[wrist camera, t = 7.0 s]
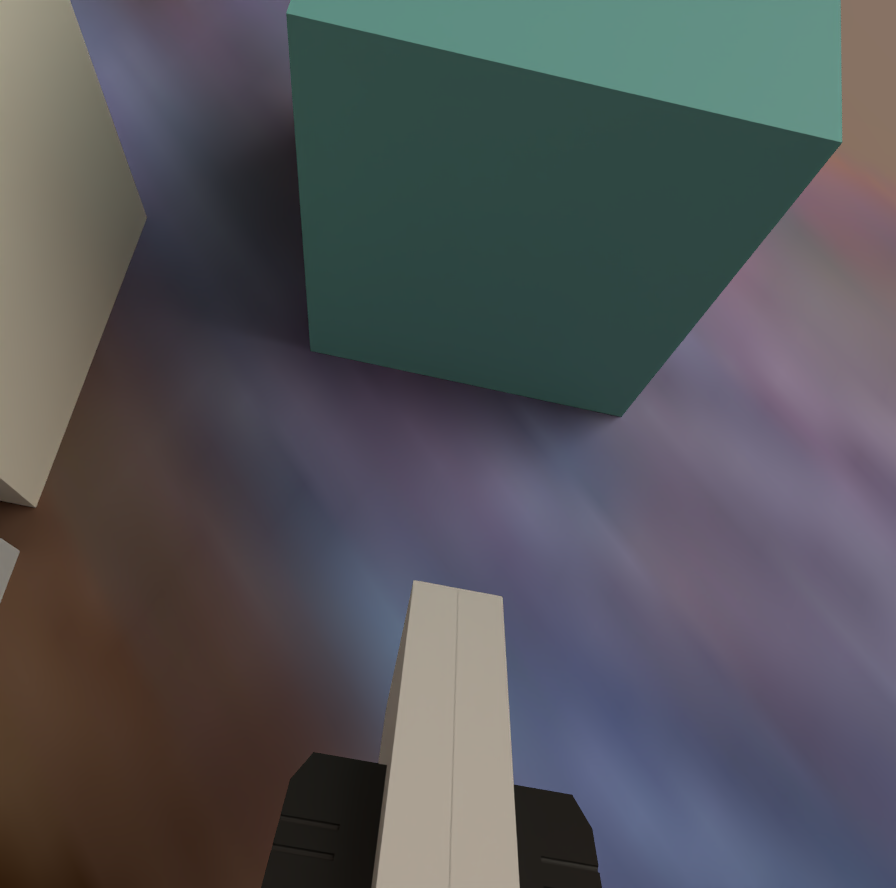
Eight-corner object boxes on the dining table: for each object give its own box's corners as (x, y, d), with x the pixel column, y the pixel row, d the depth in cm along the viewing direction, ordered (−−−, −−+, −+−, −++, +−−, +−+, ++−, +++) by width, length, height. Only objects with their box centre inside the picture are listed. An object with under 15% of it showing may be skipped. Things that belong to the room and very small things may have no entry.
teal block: (620, 417, 21) (842, 142, 12) (310, 351, 21) (286, 13, 11) (645, 170, 24) (838, -203, 15) (376, 109, 24) (399, -315, 14)
